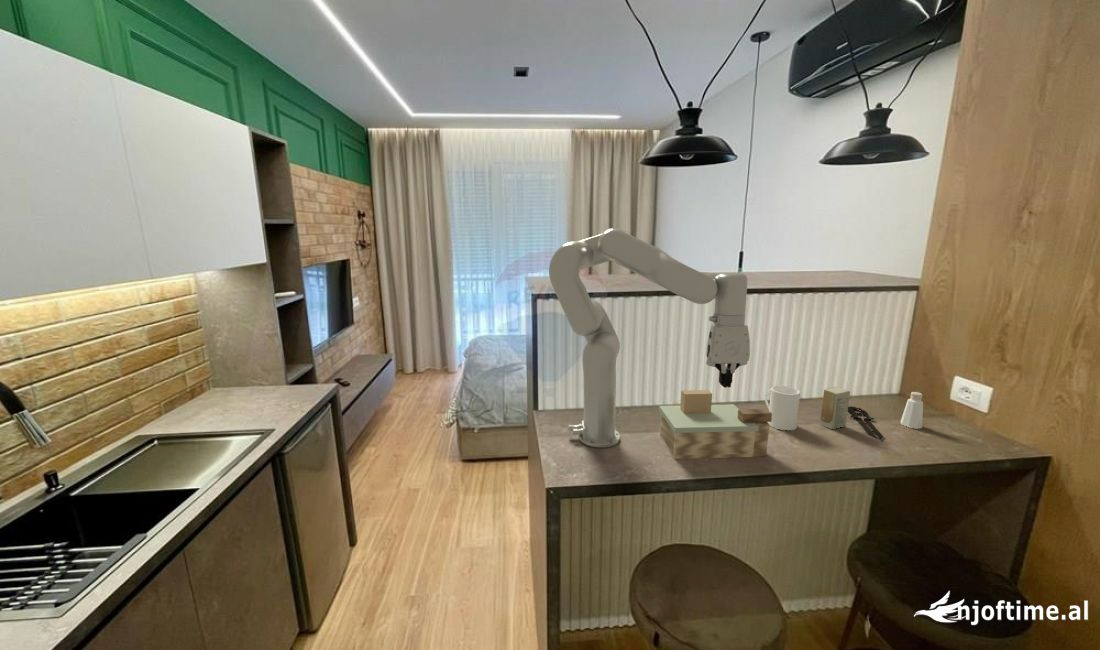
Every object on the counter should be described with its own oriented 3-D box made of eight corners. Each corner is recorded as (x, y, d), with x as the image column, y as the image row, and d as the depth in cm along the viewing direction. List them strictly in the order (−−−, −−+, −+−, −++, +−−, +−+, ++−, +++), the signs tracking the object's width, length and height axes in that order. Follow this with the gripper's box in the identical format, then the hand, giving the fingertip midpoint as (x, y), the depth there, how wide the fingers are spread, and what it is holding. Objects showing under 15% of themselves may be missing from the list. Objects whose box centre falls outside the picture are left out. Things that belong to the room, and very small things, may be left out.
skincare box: (833, 421, 137) (838, 386, 135) (846, 427, 133) (851, 390, 131) (818, 424, 135) (823, 388, 133) (831, 430, 131) (836, 393, 129)
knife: (886, 443, 123) (887, 439, 123) (860, 439, 126) (860, 435, 126) (866, 411, 146) (867, 407, 145) (844, 408, 148) (844, 404, 148)
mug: (754, 416, 142) (757, 383, 139) (776, 414, 143) (780, 381, 141) (779, 432, 130) (783, 395, 128) (803, 429, 132) (807, 393, 129)
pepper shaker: (897, 424, 134) (903, 392, 132) (902, 420, 138) (908, 388, 135) (919, 430, 130) (925, 397, 128) (924, 426, 133) (930, 393, 131)
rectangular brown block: (742, 422, 115) (743, 413, 115) (737, 417, 118) (738, 409, 118) (771, 421, 115) (772, 413, 115) (765, 417, 118) (766, 408, 118)
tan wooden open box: (674, 458, 115) (676, 426, 113) (659, 435, 129) (661, 406, 127) (767, 456, 116) (770, 424, 114) (742, 433, 130) (745, 404, 128)
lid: (674, 432, 113) (675, 406, 112) (658, 410, 128) (660, 387, 126) (758, 431, 114) (760, 405, 112) (733, 408, 128) (735, 385, 127)
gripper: (706, 323, 107) (703, 391, 110) (764, 321, 107) (759, 389, 111) (695, 318, 114) (693, 382, 118) (750, 316, 114) (745, 380, 118)
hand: (725, 385), depth 114 cm, fingers closed
